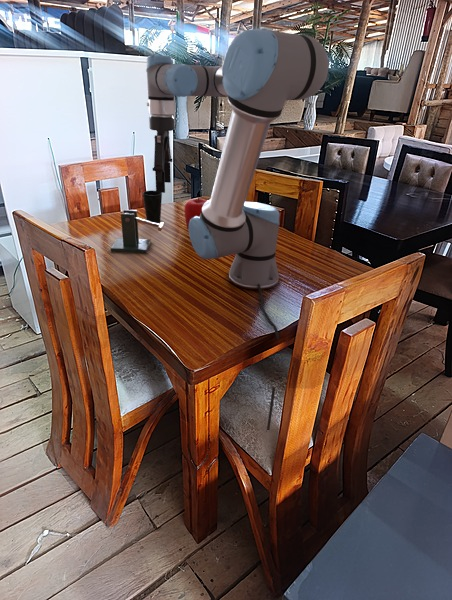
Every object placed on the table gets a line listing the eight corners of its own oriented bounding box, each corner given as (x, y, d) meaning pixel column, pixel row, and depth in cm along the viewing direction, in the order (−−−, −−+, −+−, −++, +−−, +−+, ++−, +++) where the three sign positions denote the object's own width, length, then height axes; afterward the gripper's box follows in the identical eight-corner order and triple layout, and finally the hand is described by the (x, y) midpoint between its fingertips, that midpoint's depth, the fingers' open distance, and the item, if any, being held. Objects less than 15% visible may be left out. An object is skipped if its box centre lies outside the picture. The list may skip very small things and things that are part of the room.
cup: (140, 222, 164) (138, 193, 158) (151, 217, 170) (150, 189, 164) (155, 226, 161) (154, 196, 155) (166, 221, 167) (165, 192, 161)
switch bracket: (151, 243, 145) (149, 208, 139) (146, 253, 136) (144, 217, 130) (117, 241, 145) (114, 207, 138) (110, 252, 136) (107, 215, 130)
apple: (186, 226, 162) (186, 193, 156) (211, 228, 162) (212, 195, 155) (182, 235, 153) (182, 200, 146) (209, 237, 153) (210, 202, 146)
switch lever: (163, 227, 140) (164, 221, 139) (161, 232, 135) (162, 226, 134) (126, 216, 138) (127, 210, 137) (122, 221, 133) (123, 215, 132)
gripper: (155, 111, 130) (158, 177, 141) (141, 118, 109) (145, 196, 119) (178, 113, 131) (179, 179, 141) (168, 120, 109) (170, 197, 119)
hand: (163, 187), depth 130 cm, fingers open, 13 cm apart
